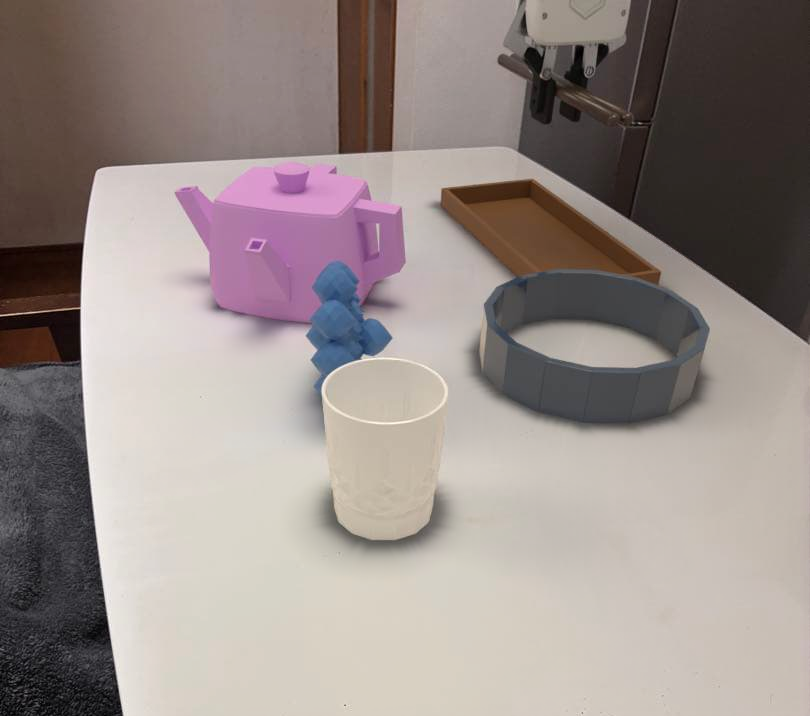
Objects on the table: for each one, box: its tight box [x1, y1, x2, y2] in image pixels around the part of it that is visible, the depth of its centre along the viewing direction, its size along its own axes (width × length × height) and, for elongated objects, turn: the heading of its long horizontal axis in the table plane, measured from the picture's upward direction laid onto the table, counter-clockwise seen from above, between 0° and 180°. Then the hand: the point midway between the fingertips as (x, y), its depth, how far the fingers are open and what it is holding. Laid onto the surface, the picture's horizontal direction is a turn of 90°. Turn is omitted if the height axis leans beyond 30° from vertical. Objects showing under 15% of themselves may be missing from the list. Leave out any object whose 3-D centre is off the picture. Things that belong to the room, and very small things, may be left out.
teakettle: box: [174, 161, 407, 324], centre depth 81 cm, size 17×17×12 cm
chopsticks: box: [496, 52, 635, 129], centre depth 84 cm, size 3×24×1 cm, turn 21°
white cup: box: [321, 356, 450, 541], centre depth 56 cm, size 8×8×10 cm
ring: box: [478, 269, 711, 424], centre depth 74 cm, size 19×19×5 cm
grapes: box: [305, 261, 393, 397], centre depth 66 cm, size 12×7×12 cm, turn 0°
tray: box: [440, 178, 662, 286], centre depth 94 cm, size 28×12×2 cm, turn 21°
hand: (555, 117), depth 86 cm, fingers closed on chopsticks, 2 cm apart
